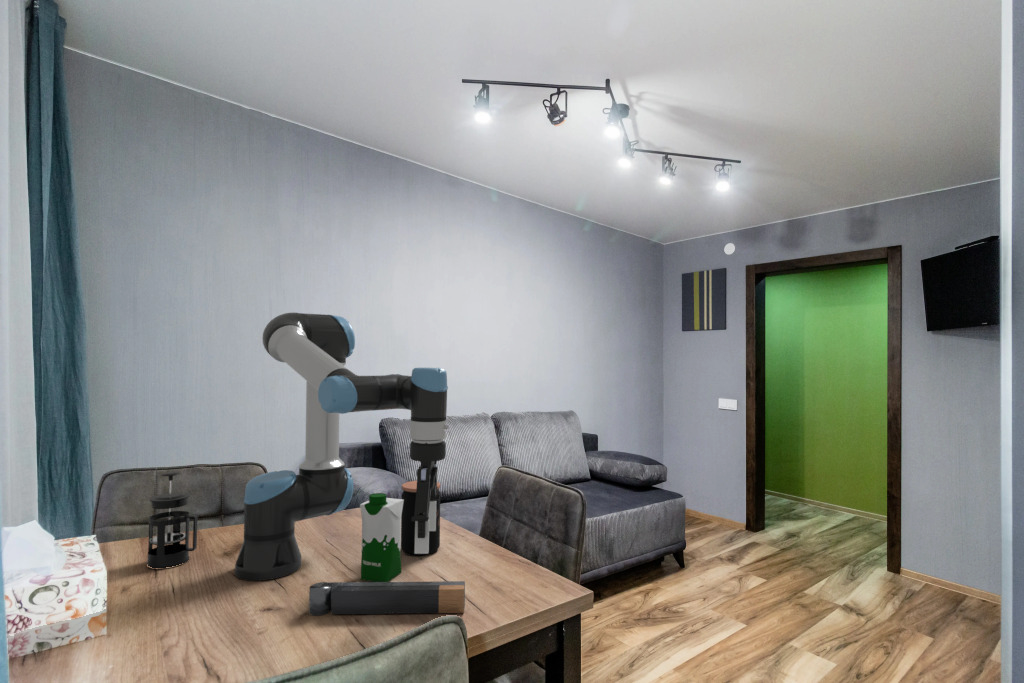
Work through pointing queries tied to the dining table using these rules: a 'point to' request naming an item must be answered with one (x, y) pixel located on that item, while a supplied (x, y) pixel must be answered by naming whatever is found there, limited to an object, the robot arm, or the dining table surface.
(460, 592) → the arm
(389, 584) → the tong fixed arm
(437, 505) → the coffee jar
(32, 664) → the dining table surface
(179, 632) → the dining table surface
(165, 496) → the french press
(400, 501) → the milk carton
